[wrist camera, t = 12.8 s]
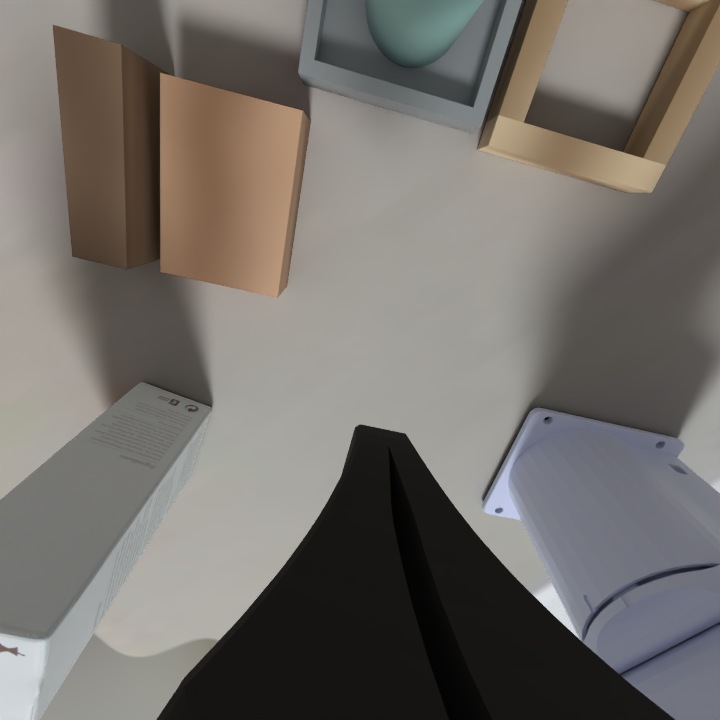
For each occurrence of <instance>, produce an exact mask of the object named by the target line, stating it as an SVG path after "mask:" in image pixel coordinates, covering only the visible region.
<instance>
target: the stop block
mask: <svg viewBox="0 0 720 720" xmlns="http://www.w3.org/2000/svg"><path fill="white" fill-rule="evenodd" d="M53 34H54V45H55V57H56V69H57V80H58V92H59V104H60V116H61V127H62V139H63V151H64V162H65V174H66V186H67V198H68V209H69V221H70V233H71V244H72V256H73V257H77V258H81V259H85V260H90V261H94V262H98V263H103V264H107V265H111V266H115V267H120V268H124V269H129V268H132V267H135V266H138V265H142V264H145V263H148V262H151V261H154V260H157V259H160V73H163V74H167V73H166V72H164V71H163V70H161V69H159V68H158V67H156V66H155V65H153V64H151V63H150V62H148V61H147V60H145V59H143V58H142V57H140V56H139V55H137V54H135V53H134V52H132V51H131V50H129V49H127V48H126V47H124V46H123V45H121V44H117V43H114V42H110V41H107V40H104V39H100V38H97V37H93V36H90V35H86V34H83V33H79V32H76V31H72V30H69V29H65V28H62V27H59V26H55V25H53ZM167 75H169V74H167Z"/></svg>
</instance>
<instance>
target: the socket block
mask: <svg viewBox="0 0 720 720" xmlns="http://www.w3.org/2000/svg"><path fill="white" fill-rule="evenodd" d="M655 1H658V2H661V3H663V4H666V5H669V6H672V7H675V8H678V9H681V10H684V11H687V12H689V14H688V16H687V18H686V20H685V22H684V24H683V26H682V29H681V31H680V33H679V35H678V37H677V39H676V41H675V43H674V45H673V47H672V50H671V52H670V54H669V56H668V58H667V60H666V62H665V64H664V66H663V69H662V71H661V73H660V75H659V77H658V79H657V81H656V83H655V85H654V88H653V90H652V92H651V94H650V96H649V98H648V100H647V102H646V104H645V106H644V109H643V111H642V113H641V115H640V117H639V119H638V121H637V123H636V125H635V128H634V130H633V132H632V134H631V136H630V138H629V140H628V142H627V144H626V147H625V149H624V151H623V152H620V151H617V150H614V149H610V148H607V147H604V146H600V145H597V144H594V143H590V142H587V141H584V140H580V139H577V138H574V137H570V136H567V135H564V134H560V133H557V132H553V131H550V130H547V129H543V128H540V127H537V126H533V125H530V124H527V123H524V120H525V118H526V115H527V112H528V109H529V107H530V104H531V101H532V98H533V96H534V93H535V90H536V87H537V85H538V82H539V79H540V76H541V74H542V71H543V68H544V65H545V63H546V60H547V57H548V54H549V52H550V49H551V46H552V43H553V41H554V38H555V35H556V33H557V30H558V27H559V24H560V22H561V19H562V16H563V13H564V11H565V8H566V5H567V2H568V0H526V3H525V6H524V9H523V12H522V15H521V18H520V21H519V24H518V27H517V30H516V33H515V36H514V39H513V42H512V45H511V48H510V51H509V54H508V57H507V61H506V64H505V67H504V70H503V73H502V76H501V79H500V82H499V85H498V88H497V91H496V94H495V97H494V100H493V103H492V106H491V109H490V112H489V115H488V118H487V121H486V125H485V128H484V131H483V134H482V137H481V140H480V143H479V146H478V149H477V150H480V151H484V152H487V153H491V154H494V155H497V156H501V157H504V158H508V159H511V160H515V161H518V162H522V163H525V164H529V165H532V166H536V167H539V168H543V169H546V170H550V171H553V172H556V173H560V174H563V175H567V176H570V177H574V178H577V179H581V180H584V181H588V182H591V183H595V184H598V185H602V186H605V187H609V188H612V189H616V190H619V191H622V192H626V193H652V191H653V189H654V188H655V186H656V184H657V182H658V180H659V178H660V176H661V174H662V172H663V170H664V168H665V167H666V165H667V163H668V161H669V159H670V157H671V155H672V153H673V151H674V149H675V147H676V146H677V144H678V142H679V140H680V138H681V136H682V134H683V132H684V130H685V128H686V127H687V125H688V123H689V121H690V119H691V117H692V115H693V113H694V111H695V109H696V107H697V106H698V104H699V102H700V100H701V98H702V96H703V94H704V92H705V90H706V88H707V87H708V85H709V83H710V81H711V79H712V77H713V75H714V73H715V71H716V69H717V67H718V66H719V64H720V0H655Z"/></svg>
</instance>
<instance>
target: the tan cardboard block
mask: <svg viewBox="0 0 720 720" xmlns="http://www.w3.org/2000/svg"><path fill="white" fill-rule="evenodd" d="M310 123H311V122H310V120H309V119H308V117H307V116H306V114H305V113H304V112H303V111H302V110H299V109H295V108H291V107H287V106H283V105H280V104H276V103H272V102H268V101H265V100H261V99H257V98H253V97H250V96H246V95H242V94H238V93H235V92H231V91H227V90H223V89H220V88H216V87H212V86H208V85H205V84H201V83H197V82H193V81H190V80H186V79H182V78H178V77H175V76H171V75H167V74H163V73H160V272H163V273H168V274H172V275H177V276H181V277H186V278H191V279H195V280H200V281H204V282H209V283H213V284H218V285H222V286H227V287H231V288H236V289H241V290H245V291H250V292H254V293H259V294H263V295H268V296H272V297H277V298H278V297H279V295H280V294H281V293H282V292H283V291H284V289H285V288H286V287H287V283H288V276H289V269H290V262H291V255H292V248H293V241H294V234H295V227H296V220H297V213H298V206H299V199H300V192H301V186H302V179H303V172H304V165H305V158H306V151H307V144H308V137H309V130H310Z"/></svg>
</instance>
